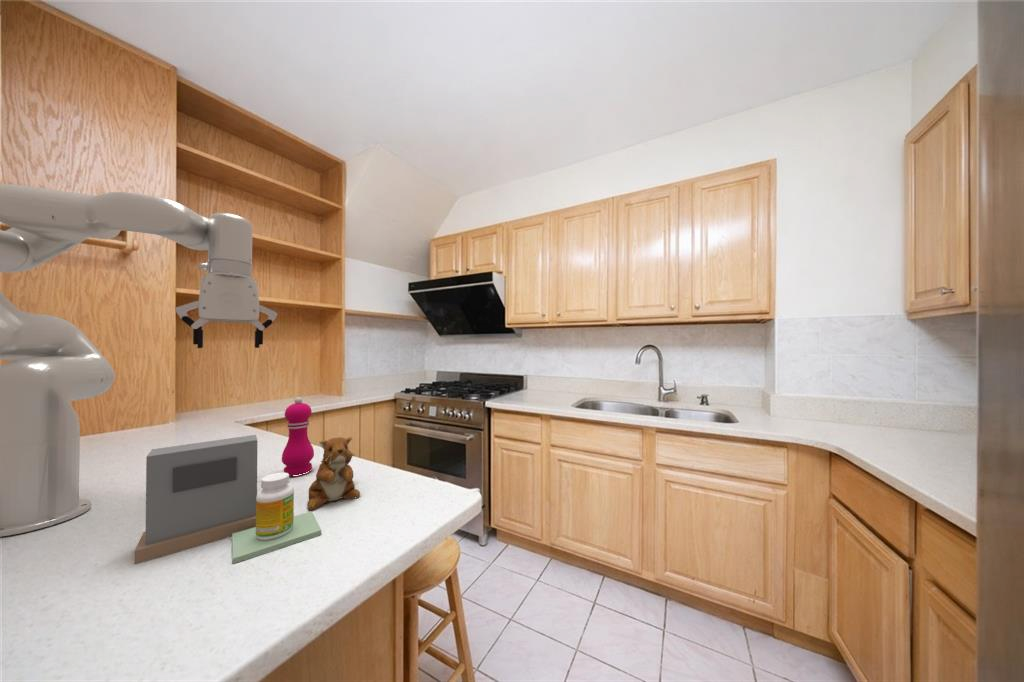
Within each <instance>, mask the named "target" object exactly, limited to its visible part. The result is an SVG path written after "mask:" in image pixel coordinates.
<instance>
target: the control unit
mask: <svg viewBox="0 0 1024 682" xmlns="http://www.w3.org/2000/svg"><path fill="white" fill-rule="evenodd" d="M257 437H258V436H257V435H256V434H252V435H245V436H244V435H243V436H236V437H231V438H223V439H216V440H215V439H214V440H209V441H208V440H207V441H201V442H196V443H195V442H194V443H188V444H187V443H186V444H180V445H173V446H167V447H160V448H152V449H151V450H150V451H149V452H148V454H147V456H146V461H145V462H146V465H145V466H146V467H145V468H146V469H145V472H146V473H145V476H146V477H145V530H144V531H143V532H142V534H141V536H140V538H139V540H138V543H137V545H136V547H135V549H134V558H133V560H134V562H133V563H134V564H133V565H136V564H140V563H144V562H147V561H151V560H154V559H157V558H160V557H164V556H167V555H171V554H175V553H177V552H182V551H185V550H188V549H192V548H196V547H198V546H202V545H205V544H208V543H212V541H213V542H216V541H219V539H220V540H223V539H226V537H227V538H230V537H232V534H233V533H237V532H240V531H244V530H247V529H251V528H254V527H256V496H257V494H258V438H257ZM215 540H216V541H215Z"/></svg>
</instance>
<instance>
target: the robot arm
mask: <svg viewBox="0 0 1024 682" xmlns="http://www.w3.org/2000/svg"><path fill="white" fill-rule="evenodd" d="M0 223H1V224H3V225H6V226H8V227H10V228H8V229H6V230H2V229H0V273H4V274H7V273H8V274H14V273H15V274H17V273H22V272H27V271H30V270H32V269H35V268H37V267H39V266H41V265H43V264H44V263H47V262H48V261H50V260H52V259H54V258H56V257H58V256H59V255H61V254H64V253H65V252H67V251H69V250H71V249H73V248H75V247H77V246H78V245H80V244H81V243H82V242H84V241H86V240H87V239H88V238H89V239H97V240H111V239H114V238H115V237H117V236H119V234H120V233H121V232H122V231H124V232H133V233H134V232H135V233H143V234H148V235H150V234H151V235H156V236H159V237H160V236H161V237H163V238H165V239H168V240H170V241H172V242H174V243H176V244H179V245H180V246H183V247H186V248H188V249H190V250H194V251H207V261H206V262H198V269H199V270H203V271H206V272H207V273H204V274H203V275H202V277H201V281H200V285H199V292H198V293H199V294H198V300H196V301H195V300H194V301H192V302H190V303H189V302H188V303H186V304H183V305H180V306H177V307H175V308H174V310H175V312H176V314H177V315H178V317H179V318H180V319H181V321H182V322H184V323H185V324H186V325H188V326H189V327H190V328H191V329H193V332H192V333H193V334H192V337H193V339H192V341H193V342H192V343H193V345H197V347H196V348H197V349H202V348H204V330H203V326H204V325H205V324H207V323H208V322H217V323H218V322H219V323H221V322H222V323H245V324H247V323H251V324H252V326H253V327H255V331H254V348H255V349H260V345H264V330H266V329H267V328H268V327H269V326H271V325H272V324H273V322H274V321H275V320H276V318H278V317H277V316H278V312H276V311H274V310H272V309H270V308H268V307H266V306H263V305H261V304H260V300H259V299H260V298H259V297H260V296H259V287H258V283H257V279H255V278H253V224H252V223H251V221H249V220H248V219H246V218H245V217H243V216H239V215H237V214H232V213H227V212H215V213H213V214H211V215H210V216H209V218H208V217H206V216H203V215H200V214H198V213H197V212H195V211H194V210H192V209H191V208H189V207H187V206H185V205H183V204H182V203H180V202H177V201H175V200H172V199H169V198H164V197H160V196H154V195H148V194H141V193H133V192H128V191H113V192H106V193H101V194H100V193H99V194H98V195H93V194H85V193H81V192H80V193H79V192H78V193H77V192H71V191H65V190H59V189H51V188H44V187H35V186H30V185H22V184H21V185H20V184H11V183H10V184H9V183H7V184H6V183H5V184H3V183H2V184H0ZM195 309H197V310H198V311H197V312H198V316H199V317H198V319H197V320H195V321H194V320H193V319H192V318H190V317H189V315H188V314H187V312H189V311H191V310H195ZM260 313H263V314H266V315H267V316H268V318H267V319H266V320H265V321H264V322H263V323H262V322H260V321H259V319H260V318H259V317H260ZM5 360H6V361H8V362H5V363H3V364H0V538H1V537H8V536H13V535H18V534H24V533H29V532H32V531H36V530H40V529H44V528H47V527H51V526H54V525H58V524H60V523H63V522H65V521H69V520H72V519H74V518H77V517H78V516H80V515H83V514H84V513H86V512H87V511H89V510H90V509H91V507H92V501H91V500H89V499H85V498H80V467H81V466H80V461H81V458H80V457H81V456H80V455H81V454H80V452H81V451H80V450H81V423H80V419H79V416H78V414H77V411H76V410H75V409H74V407H73V405H72V403H71V402H73V401H80V400H86V399H91V398H95V397H97V396H100V395H103V394H104V393H106V392H107V391H109V389H110V388H112V386H113V385H114V382H115V378H116V375H115V371H114V368H113V367H112V365H111V363H110V362H109V361H108V360H107V358H106V357H105V356H104V355H103V354H102V353H101V352H100V351H99V349H98V348H97V347H96V346H95V345H94V344H93V342H91V340H90V339H89V338H88V337H87V336H86V335H85V334H84V333H83V331H82V330H80V328H78V327H77V326H76V325H74V324H73V323H72V322H70V321H68V320H66V319H64V318H61V317H59V316H54V315H49V314H43V313H33V312H32V313H31V312H26V311H23V310H21V309H20V308H18V307H17V306H16V305H14V304H13V303H12V302H11V301H10V300H9V298H7V297H6V296H5V295H4V294H3V293H2V291H1V290H0V361H5Z"/></svg>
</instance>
